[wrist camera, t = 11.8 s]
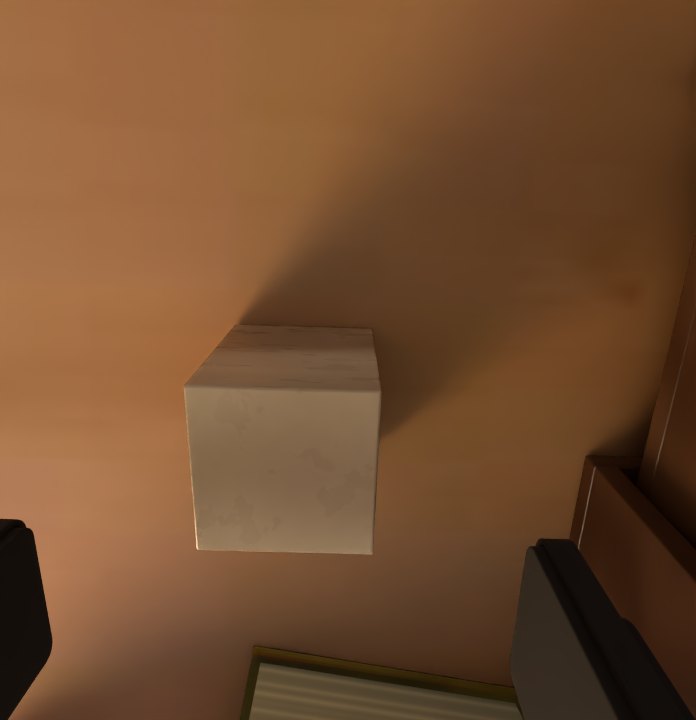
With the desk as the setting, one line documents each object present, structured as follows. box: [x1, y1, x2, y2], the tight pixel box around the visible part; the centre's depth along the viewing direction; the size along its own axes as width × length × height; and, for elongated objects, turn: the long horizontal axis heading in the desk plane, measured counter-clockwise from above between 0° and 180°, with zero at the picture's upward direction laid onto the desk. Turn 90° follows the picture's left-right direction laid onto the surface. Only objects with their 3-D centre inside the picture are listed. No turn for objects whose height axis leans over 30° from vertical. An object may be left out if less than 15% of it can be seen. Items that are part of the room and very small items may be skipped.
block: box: [184, 325, 382, 555], centre depth 15 cm, size 5×5×6 cm
